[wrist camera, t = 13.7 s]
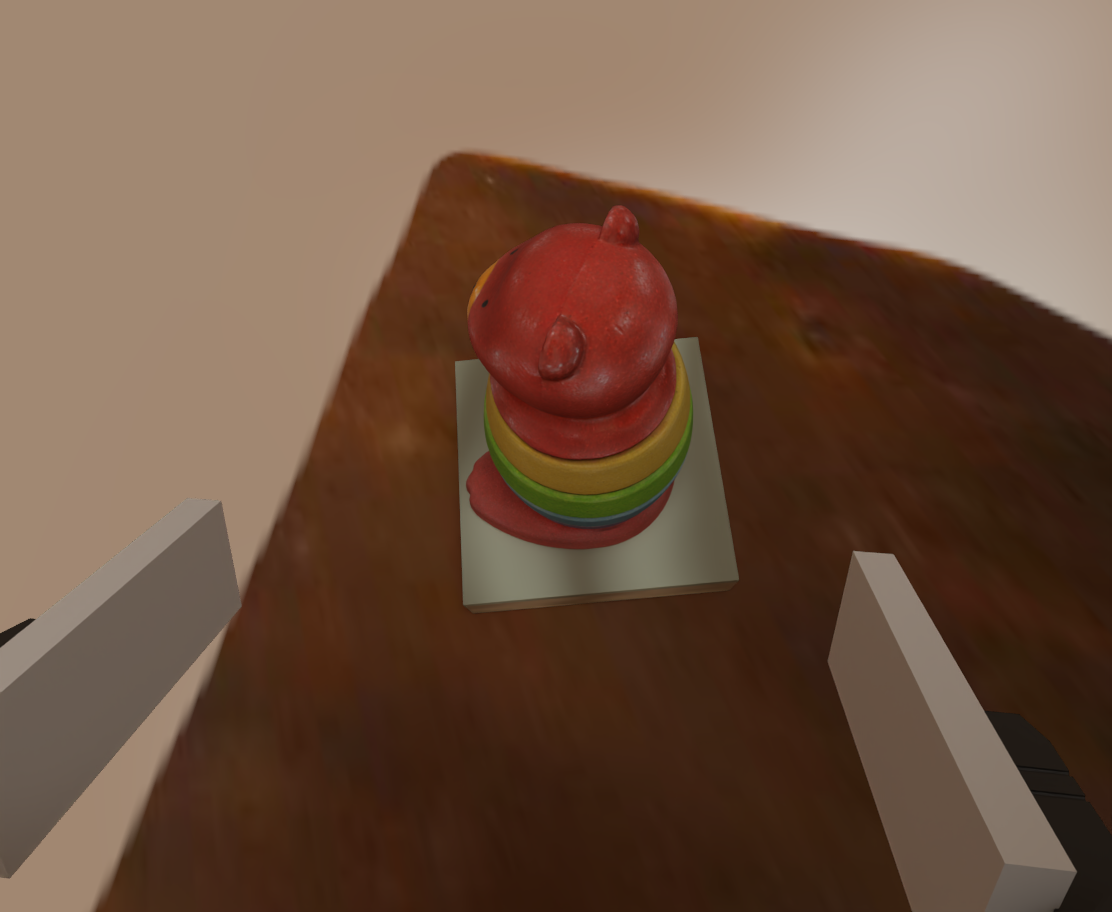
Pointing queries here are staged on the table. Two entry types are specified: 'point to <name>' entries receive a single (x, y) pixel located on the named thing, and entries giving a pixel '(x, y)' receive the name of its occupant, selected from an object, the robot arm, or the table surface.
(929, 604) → the table surface
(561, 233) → the stacking bear
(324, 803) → the table surface
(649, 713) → the table surface
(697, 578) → the plinth
